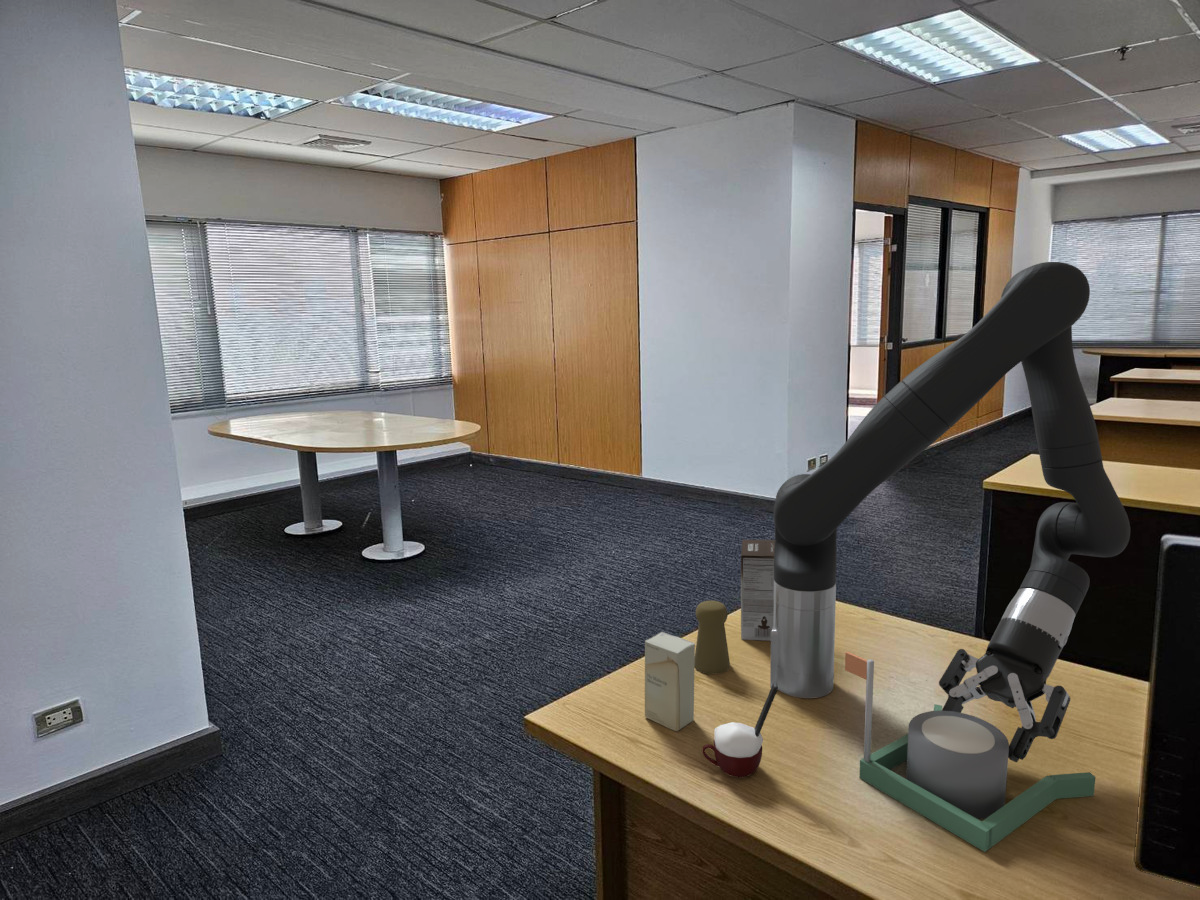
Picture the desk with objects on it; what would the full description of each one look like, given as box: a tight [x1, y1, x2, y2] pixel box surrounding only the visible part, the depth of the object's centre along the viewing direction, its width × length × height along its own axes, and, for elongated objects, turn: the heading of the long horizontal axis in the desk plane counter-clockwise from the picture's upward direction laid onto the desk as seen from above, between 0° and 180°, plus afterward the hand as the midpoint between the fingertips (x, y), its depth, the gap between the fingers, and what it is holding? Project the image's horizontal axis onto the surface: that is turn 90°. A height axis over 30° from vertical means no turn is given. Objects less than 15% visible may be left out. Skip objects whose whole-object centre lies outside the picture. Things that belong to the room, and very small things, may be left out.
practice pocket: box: [844, 651, 1096, 853], centre depth 94 cm, size 20×22×16 cm
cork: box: [694, 600, 731, 675], centre depth 126 cm, size 6×6×11 cm
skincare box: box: [644, 631, 696, 732], centre depth 111 cm, size 6×4×12 cm
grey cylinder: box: [905, 710, 1010, 820], centre depth 93 cm, size 11×11×8 cm
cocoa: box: [701, 682, 779, 778], centre depth 98 cm, size 10×6×12 cm, turn 61°
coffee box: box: [740, 539, 775, 642], centre depth 139 cm, size 9×6×16 cm
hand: (977, 742), depth 95 cm, fingers open, 8 cm apart
